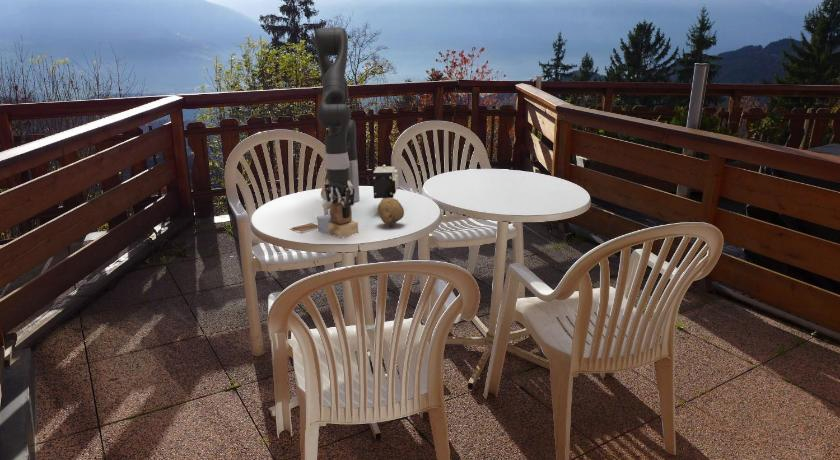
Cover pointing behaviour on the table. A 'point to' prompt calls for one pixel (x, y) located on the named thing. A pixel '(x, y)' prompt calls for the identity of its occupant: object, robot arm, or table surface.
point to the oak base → (343, 228)
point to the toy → (323, 194)
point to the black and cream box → (385, 182)
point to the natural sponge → (390, 211)
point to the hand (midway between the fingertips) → (341, 216)
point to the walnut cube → (338, 213)
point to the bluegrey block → (324, 223)
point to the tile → (305, 228)
